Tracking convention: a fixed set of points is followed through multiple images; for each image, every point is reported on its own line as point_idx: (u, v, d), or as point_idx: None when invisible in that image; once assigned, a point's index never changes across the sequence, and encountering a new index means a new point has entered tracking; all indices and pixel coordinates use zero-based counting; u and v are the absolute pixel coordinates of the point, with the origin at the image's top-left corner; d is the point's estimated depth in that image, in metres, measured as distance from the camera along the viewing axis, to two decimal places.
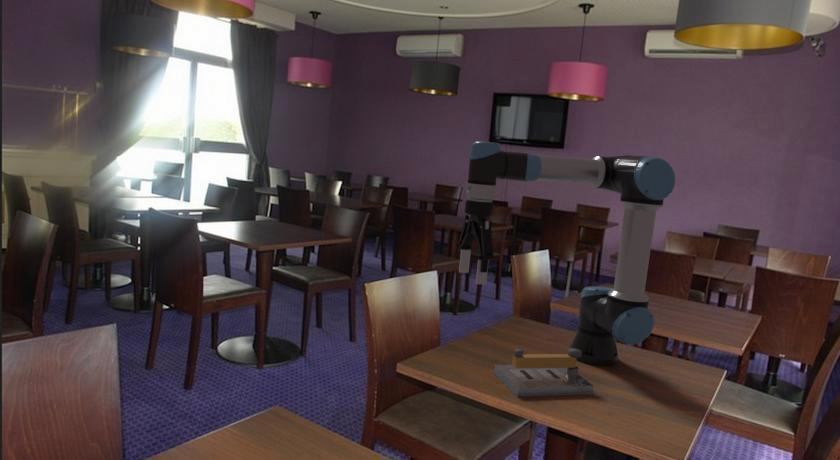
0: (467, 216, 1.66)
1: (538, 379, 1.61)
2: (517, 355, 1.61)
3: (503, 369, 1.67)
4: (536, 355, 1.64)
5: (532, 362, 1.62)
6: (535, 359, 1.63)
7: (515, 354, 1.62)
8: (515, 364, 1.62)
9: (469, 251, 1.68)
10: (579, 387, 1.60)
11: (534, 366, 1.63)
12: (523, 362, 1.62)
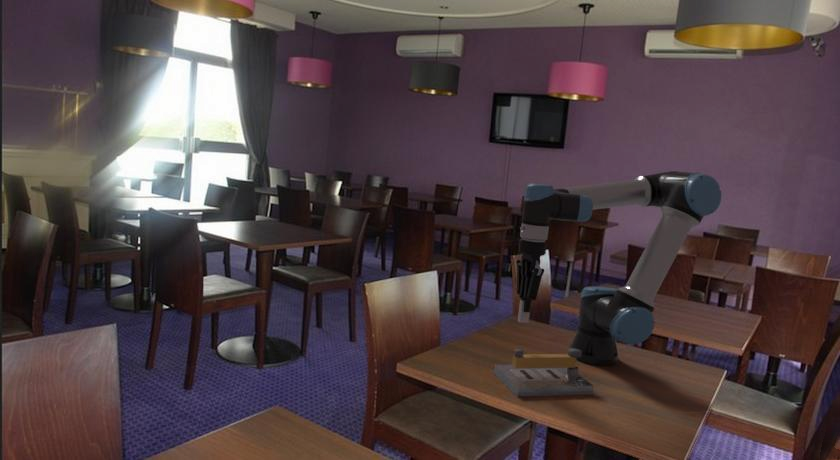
0: (518, 260, 1.72)
1: (538, 379, 1.61)
2: (517, 355, 1.61)
3: (503, 369, 1.67)
4: (536, 355, 1.64)
5: (532, 362, 1.62)
6: (535, 359, 1.63)
7: (515, 354, 1.62)
8: (515, 364, 1.62)
9: None
10: (579, 387, 1.60)
11: (534, 366, 1.63)
12: (523, 362, 1.62)
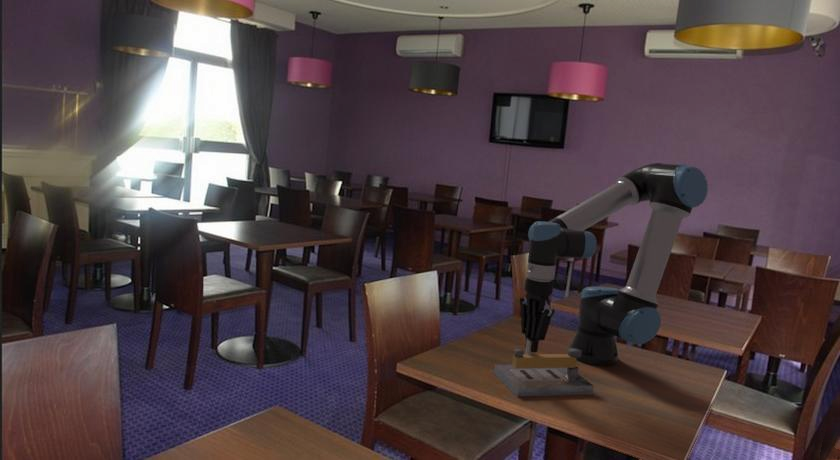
0: (522, 298, 1.68)
1: (538, 379, 1.61)
2: (517, 355, 1.61)
3: (503, 369, 1.67)
4: (536, 355, 1.64)
5: (532, 362, 1.62)
6: (535, 359, 1.63)
7: (515, 354, 1.62)
8: (515, 364, 1.62)
9: None
10: (579, 387, 1.60)
11: (534, 366, 1.63)
12: (523, 362, 1.62)
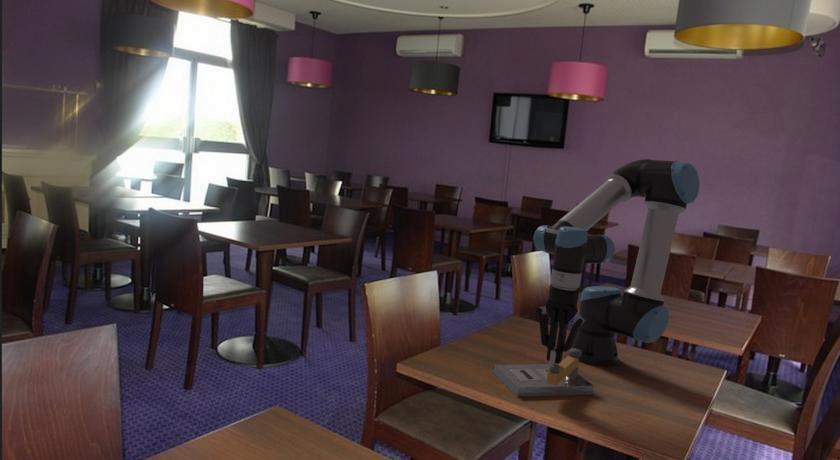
0: (540, 308, 1.58)
1: (538, 379, 1.61)
2: (556, 371, 1.51)
3: (503, 369, 1.67)
4: (559, 366, 1.58)
5: (562, 374, 1.55)
6: (564, 370, 1.56)
7: (554, 371, 1.51)
8: (554, 381, 1.52)
9: None
10: (579, 387, 1.60)
11: (563, 377, 1.56)
12: (559, 377, 1.53)
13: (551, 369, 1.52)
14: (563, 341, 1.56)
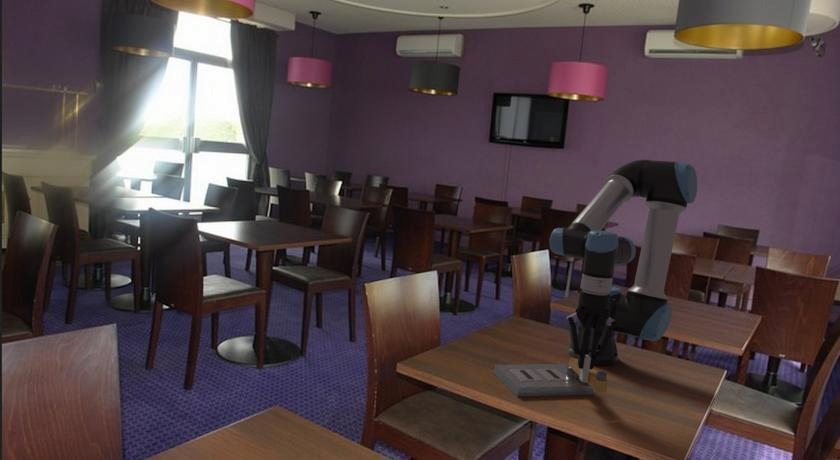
0: (571, 317, 1.52)
1: (538, 379, 1.61)
2: None
3: (503, 369, 1.67)
4: (590, 371, 1.56)
5: None
6: None
7: (604, 378, 1.49)
8: (604, 388, 1.50)
9: None
10: (579, 387, 1.60)
11: None
12: None
13: (602, 377, 1.49)
14: None
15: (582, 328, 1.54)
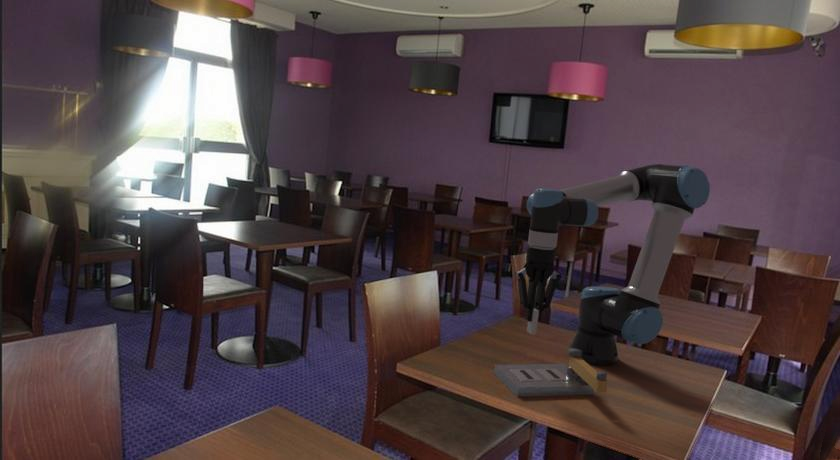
0: None
1: (538, 379, 1.61)
2: None
3: (503, 369, 1.67)
4: (590, 371, 1.56)
5: None
6: None
7: (604, 378, 1.49)
8: (604, 388, 1.50)
9: None
10: (579, 387, 1.60)
11: None
12: None
13: (602, 377, 1.49)
14: (529, 298, 1.61)
15: None
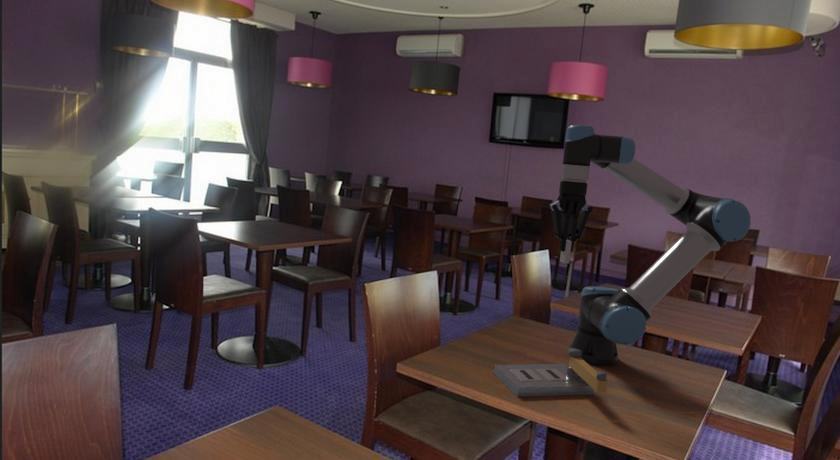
0: None
1: (538, 379, 1.61)
2: None
3: (503, 369, 1.67)
4: (590, 371, 1.56)
5: None
6: None
7: (604, 378, 1.49)
8: (604, 388, 1.50)
9: None
10: (579, 387, 1.60)
11: None
12: None
13: (602, 377, 1.49)
14: (562, 230, 1.71)
15: None
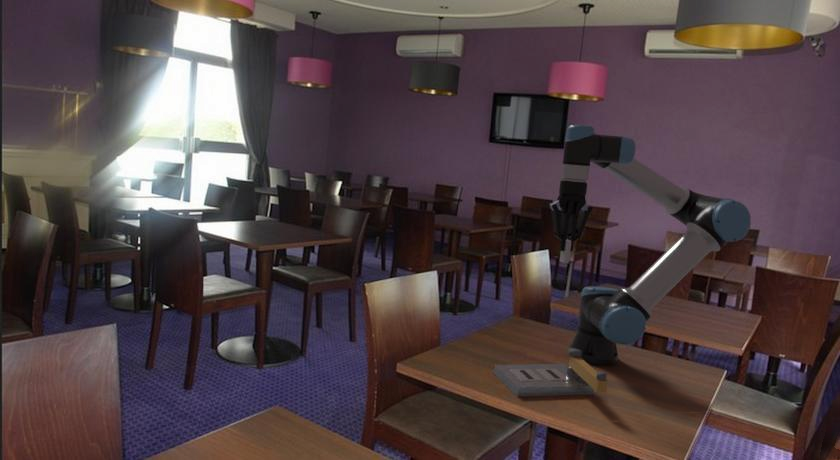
0: None
1: (538, 379, 1.61)
2: None
3: (503, 369, 1.67)
4: (590, 371, 1.56)
5: None
6: None
7: (604, 378, 1.49)
8: (604, 388, 1.50)
9: None
10: (579, 387, 1.60)
11: None
12: None
13: (602, 377, 1.49)
14: (562, 229, 1.71)
15: None
